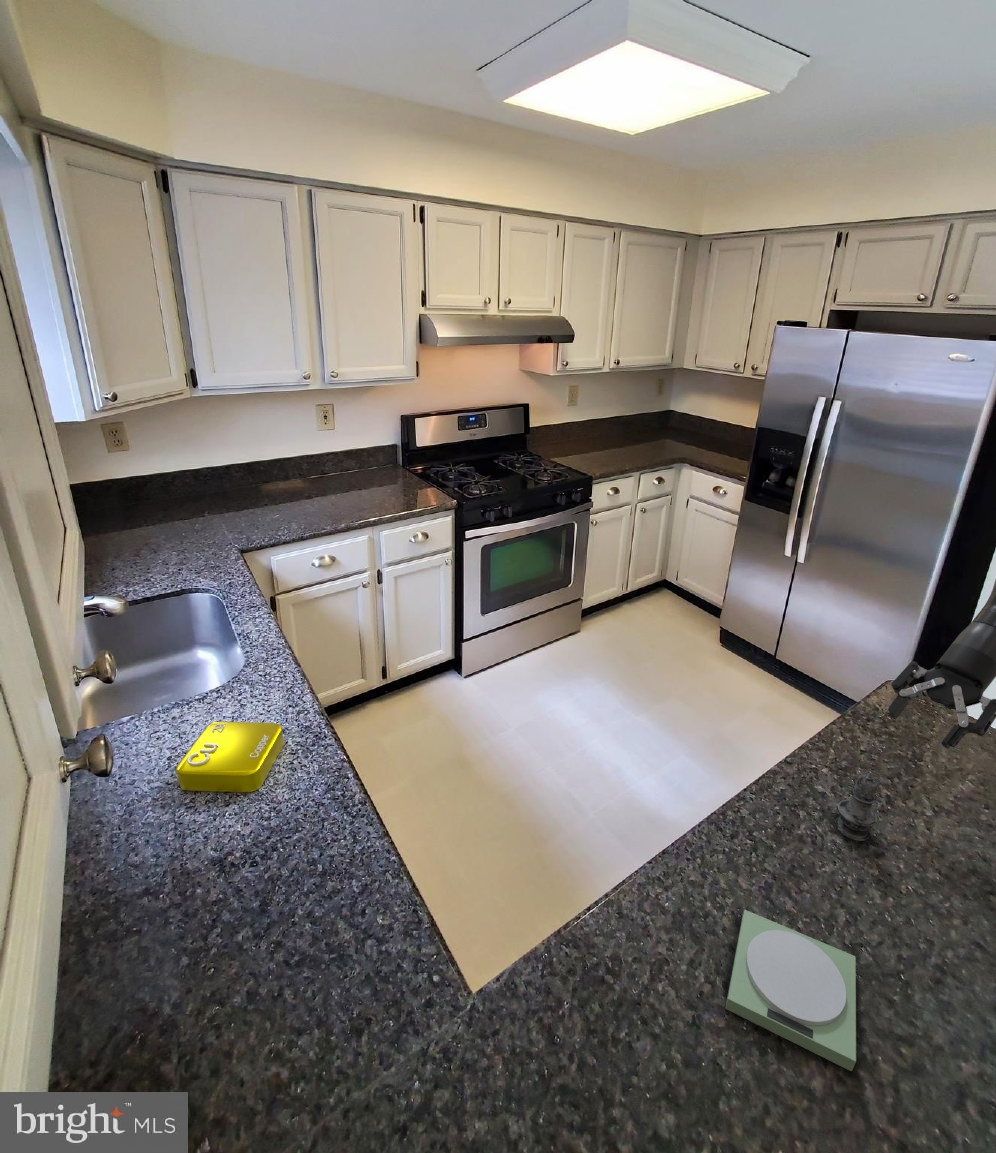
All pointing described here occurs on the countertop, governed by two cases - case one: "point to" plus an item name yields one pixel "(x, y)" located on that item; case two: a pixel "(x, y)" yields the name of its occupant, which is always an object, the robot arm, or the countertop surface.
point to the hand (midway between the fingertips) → (917, 731)
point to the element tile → (231, 757)
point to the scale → (795, 988)
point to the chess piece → (858, 810)
